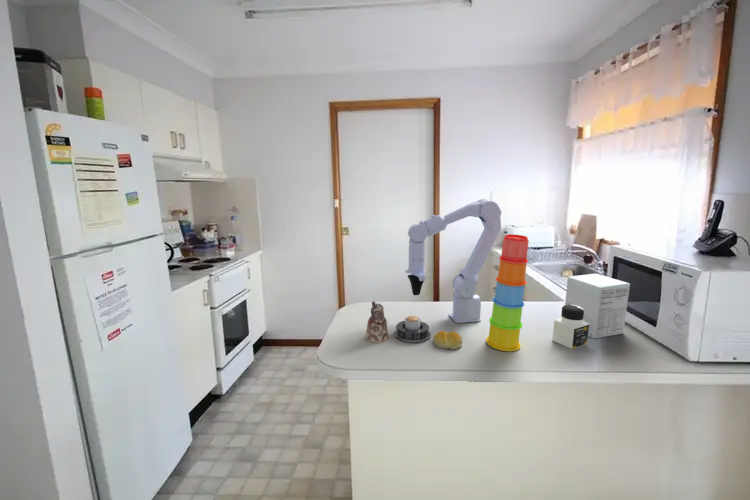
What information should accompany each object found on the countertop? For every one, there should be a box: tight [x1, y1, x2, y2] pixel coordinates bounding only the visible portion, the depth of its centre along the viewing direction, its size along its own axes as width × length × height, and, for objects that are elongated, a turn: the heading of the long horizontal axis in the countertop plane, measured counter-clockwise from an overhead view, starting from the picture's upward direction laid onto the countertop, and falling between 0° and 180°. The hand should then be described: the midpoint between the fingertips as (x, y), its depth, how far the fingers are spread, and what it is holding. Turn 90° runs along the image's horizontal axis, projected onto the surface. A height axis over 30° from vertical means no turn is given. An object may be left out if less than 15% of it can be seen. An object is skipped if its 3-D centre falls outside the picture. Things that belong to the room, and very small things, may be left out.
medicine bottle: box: [552, 304, 589, 350], centre depth 116 cm, size 7×7×12 cm
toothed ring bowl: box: [393, 320, 431, 344], centre depth 123 cm, size 12×12×3 cm
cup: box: [404, 315, 421, 331], centre depth 122 cm, size 5×5×5 cm
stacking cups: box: [485, 233, 529, 352], centre depth 113 cm, size 10×10×35 cm
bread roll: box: [432, 330, 463, 350], centre depth 116 cm, size 8×9×4 cm
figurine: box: [365, 301, 389, 344], centre depth 120 cm, size 7×7×12 cm
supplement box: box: [564, 273, 631, 339], centre depth 125 cm, size 13×13×18 cm
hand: (416, 294), depth 135 cm, fingers closed
